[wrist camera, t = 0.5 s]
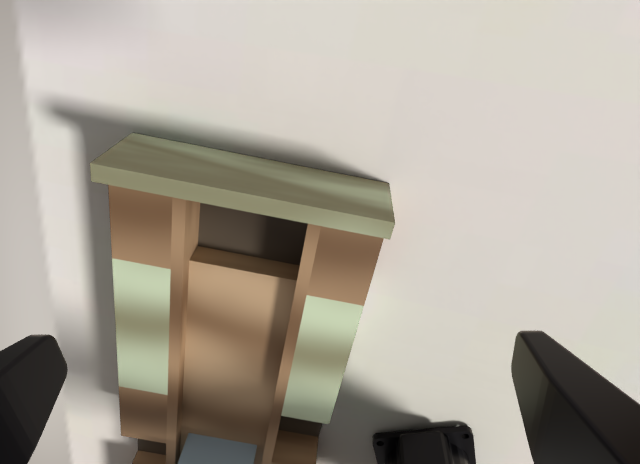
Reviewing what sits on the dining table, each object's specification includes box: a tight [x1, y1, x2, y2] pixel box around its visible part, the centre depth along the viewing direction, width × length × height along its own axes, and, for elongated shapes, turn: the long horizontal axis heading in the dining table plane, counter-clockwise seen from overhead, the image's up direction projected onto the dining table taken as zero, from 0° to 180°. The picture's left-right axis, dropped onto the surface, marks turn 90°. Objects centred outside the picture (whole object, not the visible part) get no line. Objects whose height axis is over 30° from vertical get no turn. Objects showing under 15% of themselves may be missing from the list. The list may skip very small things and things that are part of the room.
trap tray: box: [90, 133, 395, 464], centre depth 28 cm, size 30×12×4 cm, turn 170°
